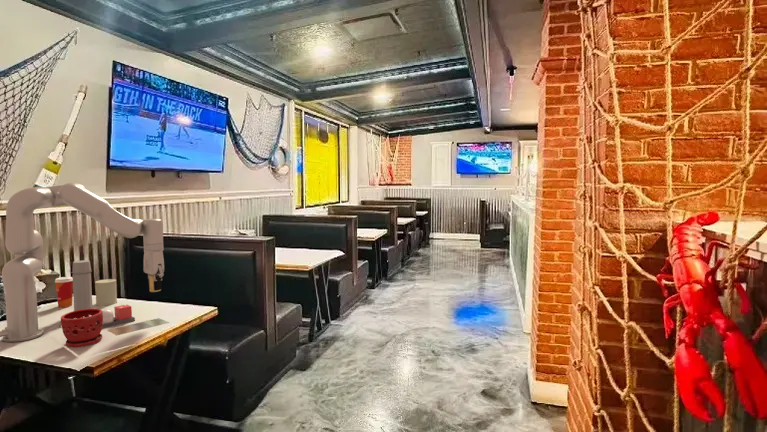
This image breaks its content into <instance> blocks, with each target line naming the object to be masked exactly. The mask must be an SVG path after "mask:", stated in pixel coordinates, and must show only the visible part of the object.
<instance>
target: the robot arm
mask: <svg viewBox="0 0 767 432" xmlns="http://www.w3.org/2000/svg"><path fill="white" fill-rule="evenodd" d="M61 206H69V207H72V208H74V209H76V210H77V211H79V212H81V213H83V214H85V215H87V216H88V217H90V218H92V219H93V220H95V221H96V222H98V223H99V224H101V225H102V226H104V227H106V228H107V229H109V230H110V231H112V232H115V234H118V235H120V236H122V237H124V238H128V239H134V238H136V237H138V236H142V237H143V238H142V239H143V253H144V254H143V273H145V274H146V275H147V283H148V289H149V290H150V286H149V275H154V280H155V281H154V290H155V291H156V290H161V291H162V289H163V277H164V275H165V274H164V272H165V259H164V252H163V251H164V231H163V230H164V229H163V228H164V226H163V225H164V224H163V220H162V219H160V218H146V219H144V218H130V217H128V216H126V215H125V214H123V213H120V212H119V211H117V209H115V208H114V207H113V206H112V205H111V204H110V203H109V202H108V201H107V200H105V199H103V198H102V197H100V196H98V195H96V194H95V193H92V192H91V191H89V190H88V189H87V188H86V186H84V185H82V184H81V183H78V182H68V183H65V184H62V185H53V186H44V187H43V186H38V187H35V186H34V187H29V188H24V189H22V190H19V191H17V192H15V193H14V194H12V196H10V198H9V200H8V201H7V203H6V208H5V209H6V210H5V214H6V215H5V218H6V219H5V241H4V243H5V248H6V250H7V251H8V252H9V253H10V254H13V255H14V258H13V259H10V260H9V261H7V262H6V263H5V264H4V265H3V267H2V270H1V278H2V283H3V287H4V298H5V314H6V315H5V316H6V326H5V327H4V329H2V330H1V331H0V338H1V339H2V341H3V342H6V343H17V342H25V341H30V340H32V339H33V340H34V339H36V338H38V337H41V336H42V335H43V334H44V330H43V329H40V328H39V318H38V316H39V315H38V298H37V297H38V296H37V288H36V282H35V277H36V276H37V275H39V274H40V272H41V271H42V269H43V266H44V239H43V236H42V235H41V233H40V232H39V231H37V230H36V229H35V217H34V211H35V210H38V209H47V208H53V207H54V208H55V207H61ZM156 275H158V276H157V277H156Z"/></svg>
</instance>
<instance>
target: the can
mask: <svg viewBox="0 0 767 432" xmlns="http://www.w3.org/2000/svg"><path fill="white" fill-rule="evenodd" d="M94 283H95V285H94V287H95V305H96V306H101V307H102V306H103V307H104V306H105V307H106V306H109V305H110V306H111V305H114V304H117V302H118V298H117V297H118V295H117V279H115V278H108V279H99V280H96V281H94Z"/></svg>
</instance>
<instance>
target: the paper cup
mask: <svg viewBox="0 0 767 432" xmlns="http://www.w3.org/2000/svg"><path fill="white" fill-rule="evenodd" d="M54 283H55V291H56V299H57V306H58V308H69V307H71V306H73V298H74V297H73V276H62V277H57V278H55V280H54Z"/></svg>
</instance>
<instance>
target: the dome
mask: <svg viewBox="0 0 767 432" xmlns="http://www.w3.org/2000/svg"><path fill="white" fill-rule="evenodd" d="M102 313H103V324H106V323H111V322H114V317H115V314H114V312H113V311H112V310H110V309H106V308H105V309H103V310H102Z"/></svg>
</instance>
